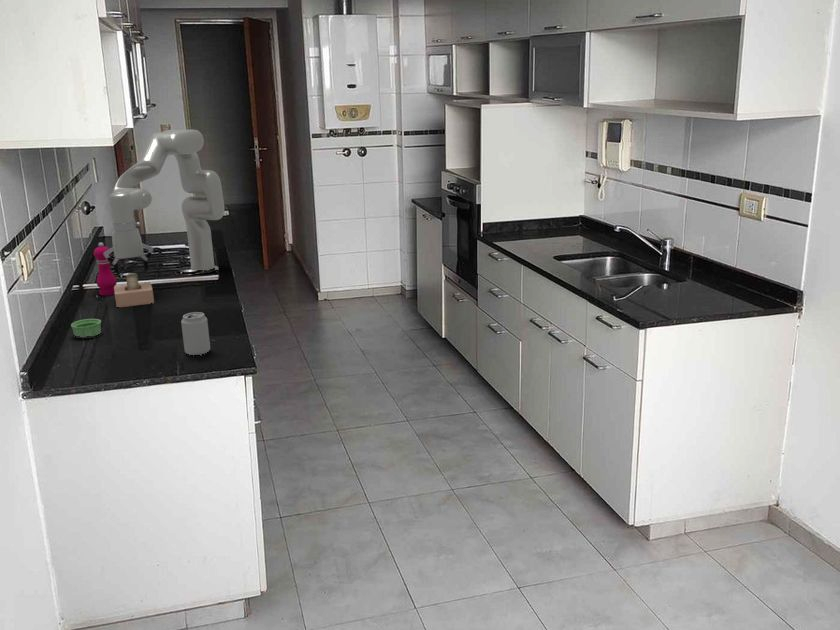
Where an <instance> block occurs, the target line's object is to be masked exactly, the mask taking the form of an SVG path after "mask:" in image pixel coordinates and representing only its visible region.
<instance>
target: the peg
mask: <svg viewBox="0 0 840 630" xmlns="http://www.w3.org/2000/svg"><path fill="white" fill-rule="evenodd" d="M125 280H126V284H127V288H128V290H136V289H139V284H138V283H139V278H138V274H137V273H133V272H132V273H127V274H125Z"/></svg>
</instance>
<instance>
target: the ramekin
mask: <svg viewBox="0 0 840 630" xmlns="http://www.w3.org/2000/svg"><path fill="white" fill-rule="evenodd" d="M101 325H102V320H101V319H98V318H87V319H86V318H85V319H79V320H77V321H74V322H72V323H71V325H70V326H71V328H72V332H73V336H74V335H75V336H80V337H86V336H95V335H98V334H100V333H101V334H102V326H101ZM101 334H100V335H101ZM75 336H74V337H75Z"/></svg>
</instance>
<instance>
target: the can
mask: <svg viewBox="0 0 840 630" xmlns="http://www.w3.org/2000/svg"><path fill="white" fill-rule="evenodd" d="M180 323H181V331H182V333H181V334H182V340H183V346H184V353H185V354H187V355H188V354H189V355H188V356H190V355H193V356H192V357H195V356H194V355H200V356H203V355H202V354H204V355H206V354H208V353H209V351H211V342H210V333H209V325H208V324H209V323H208V318H207V317H206V316H205V313H204V312H199V311H198V312H197V311H193V312H188V313H186V314H183V316H182V319H181V321H180ZM207 352H208V353H207ZM205 353H206V354H205Z"/></svg>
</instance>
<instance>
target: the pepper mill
mask: <svg viewBox="0 0 840 630" xmlns="http://www.w3.org/2000/svg"><path fill="white" fill-rule="evenodd" d="M109 249H110V247H108V246H105V245H104V243H103V242H98V246H97V247H96V248H95V249H94V251H93V256H94V258H95V259H96V264H97V265H98V273H97V277H96V286H97V287H98V288H99V290H98V292H99V295H100V296H104V297H107V296H112V295H115V291H114V286H117V283H118V282H117V278H116V276H115V275H114V273H113V271H112V269H111V265H110V263H111V262H109V261H108V260H107V259H106V257H105V256H104V255H103V253H104V252H106V251H107V250H109ZM111 254H112V253H110V254H109V256H110V257H111Z"/></svg>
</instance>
